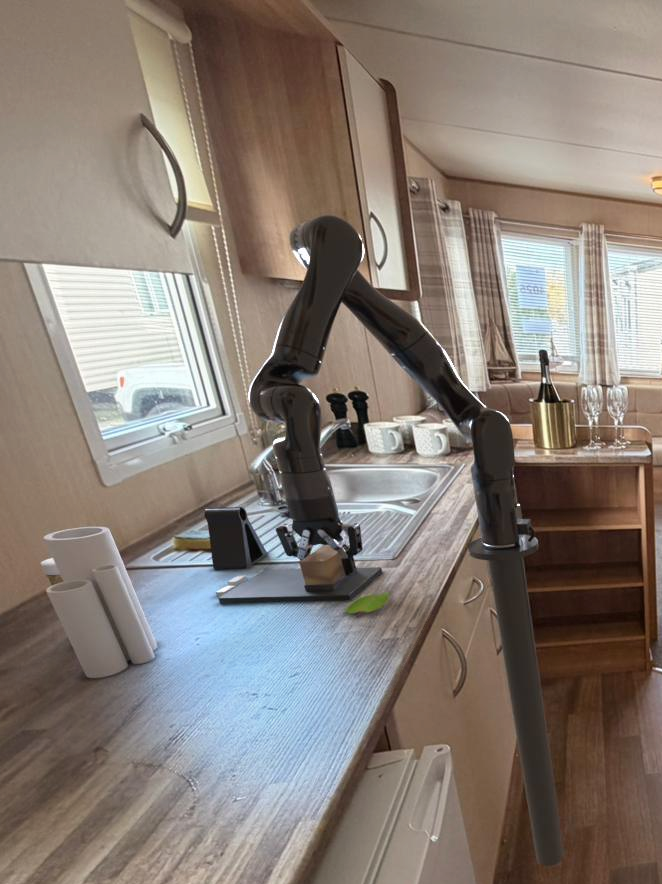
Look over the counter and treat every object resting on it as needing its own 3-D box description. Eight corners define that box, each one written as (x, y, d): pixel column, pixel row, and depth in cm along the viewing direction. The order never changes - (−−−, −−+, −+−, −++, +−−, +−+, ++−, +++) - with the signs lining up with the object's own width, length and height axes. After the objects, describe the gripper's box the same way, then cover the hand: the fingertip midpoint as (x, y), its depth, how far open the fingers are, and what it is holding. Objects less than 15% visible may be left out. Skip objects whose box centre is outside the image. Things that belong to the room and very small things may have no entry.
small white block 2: (237, 575, 129) (238, 580, 129) (227, 581, 126) (228, 586, 126) (245, 575, 129) (247, 580, 129) (235, 581, 126) (237, 586, 126)
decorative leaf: (336, 611, 119) (334, 606, 119) (382, 593, 126) (381, 589, 126) (360, 618, 116) (359, 613, 115) (406, 599, 123) (405, 595, 122)
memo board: (382, 572, 136) (381, 567, 136) (350, 600, 123) (348, 595, 122) (266, 574, 132) (265, 569, 132) (220, 603, 119) (218, 598, 118)
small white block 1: (226, 585, 124) (227, 590, 124) (215, 592, 121) (217, 596, 122) (234, 585, 124) (236, 590, 125) (224, 591, 121) (225, 596, 122)
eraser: (357, 571, 133) (350, 544, 130) (334, 590, 124) (326, 561, 121) (331, 572, 132) (323, 544, 129) (305, 591, 123) (297, 562, 120)
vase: (106, 648, 102) (52, 529, 94) (165, 639, 106) (119, 524, 98) (80, 680, 94) (19, 553, 86) (146, 669, 97) (94, 546, 89)
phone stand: (247, 568, 135) (229, 513, 130) (213, 569, 133) (194, 514, 128) (267, 554, 143) (251, 502, 138) (236, 555, 141) (218, 502, 136)
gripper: (359, 488, 125) (378, 567, 132) (277, 488, 123) (301, 568, 129) (341, 498, 118) (362, 581, 125) (254, 498, 116) (280, 582, 123)
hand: (331, 574), depth 127 cm, fingers open, 6 cm apart
